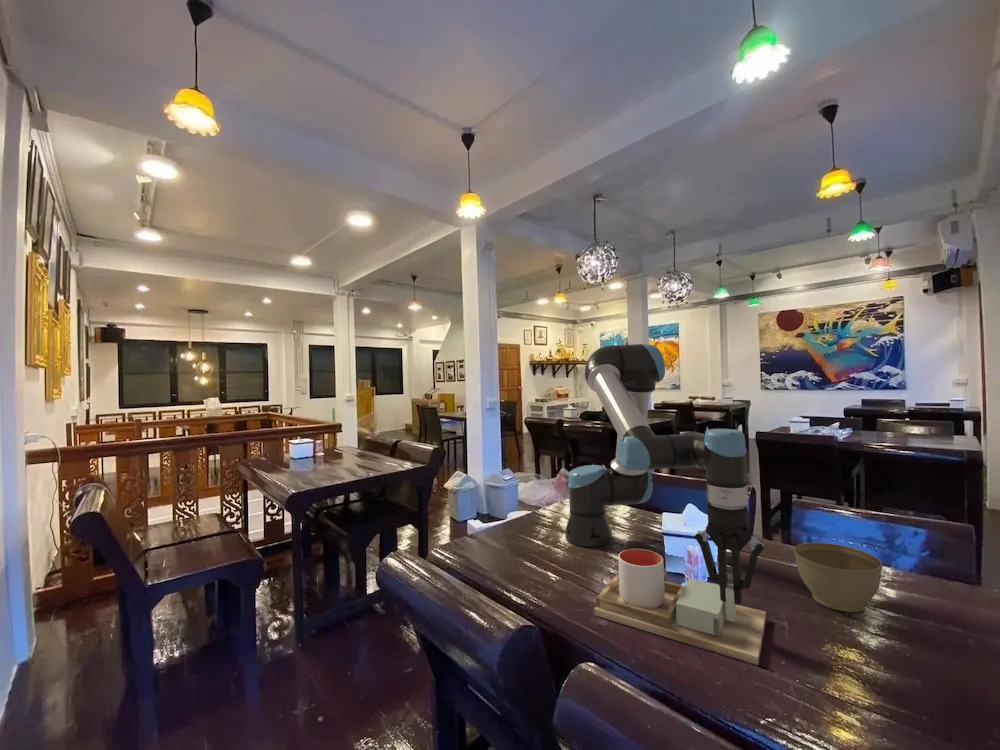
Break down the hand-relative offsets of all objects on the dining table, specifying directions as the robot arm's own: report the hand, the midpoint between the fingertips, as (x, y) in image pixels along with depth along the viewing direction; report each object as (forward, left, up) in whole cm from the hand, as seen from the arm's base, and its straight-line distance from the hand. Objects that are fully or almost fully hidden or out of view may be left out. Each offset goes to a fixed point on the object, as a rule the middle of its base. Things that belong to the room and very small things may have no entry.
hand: (731, 617), depth 91 cm
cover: (0, -5, -1) cm, 5 cm away
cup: (0, -19, -2) cm, 19 cm away
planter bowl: (-25, +18, -3) cm, 31 cm away
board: (0, -11, -3) cm, 11 cm away
